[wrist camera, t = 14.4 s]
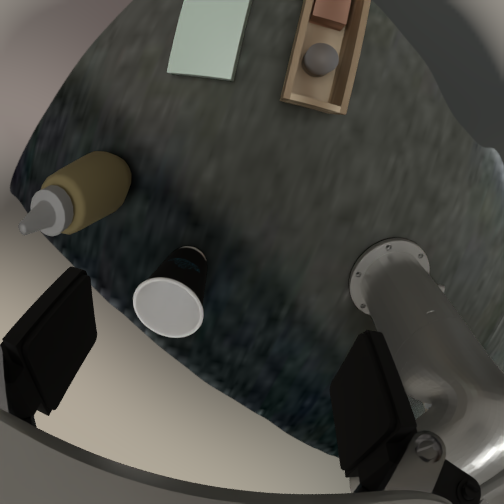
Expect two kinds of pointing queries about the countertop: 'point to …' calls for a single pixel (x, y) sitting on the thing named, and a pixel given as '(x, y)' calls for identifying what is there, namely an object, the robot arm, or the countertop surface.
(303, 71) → the box
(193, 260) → the dixie cup
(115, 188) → the squeeze bottle
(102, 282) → the countertop surface
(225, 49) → the lid
